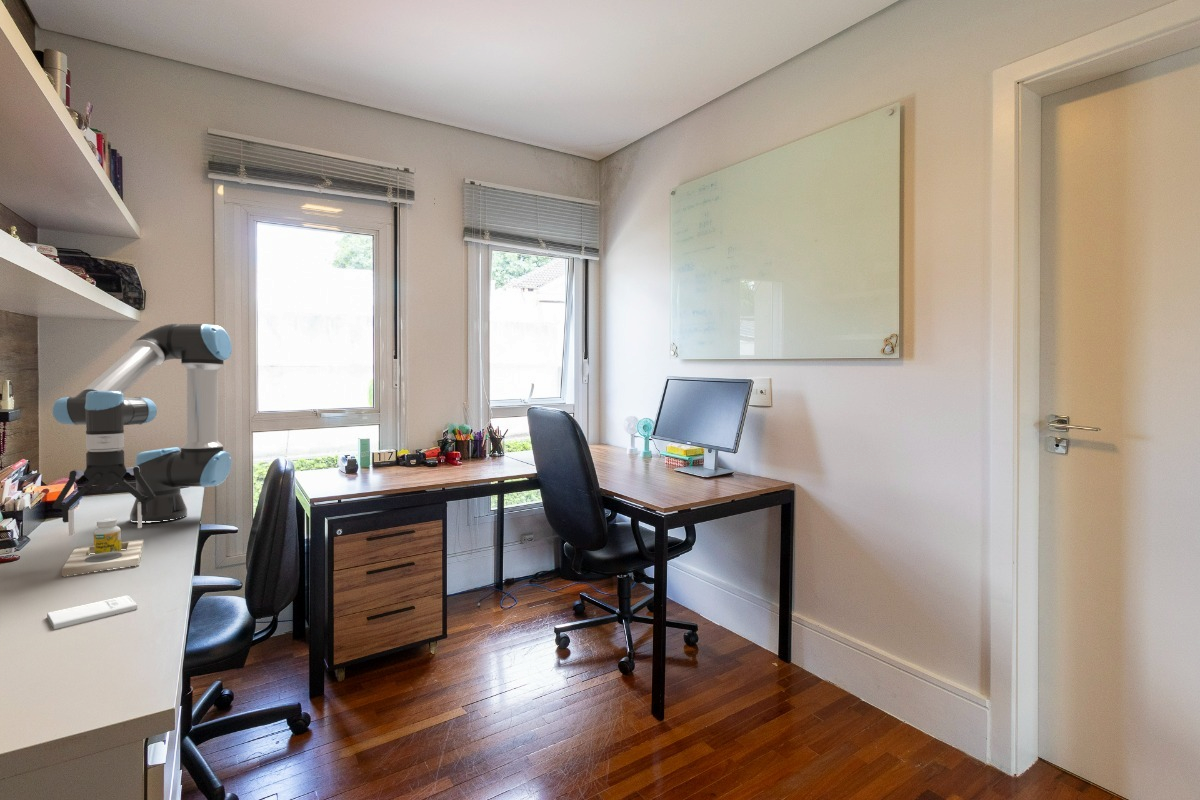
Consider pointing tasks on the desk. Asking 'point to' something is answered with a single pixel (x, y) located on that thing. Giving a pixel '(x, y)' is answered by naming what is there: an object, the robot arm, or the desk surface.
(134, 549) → the puzzle board
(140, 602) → the desk surface
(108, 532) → the supplement bottle
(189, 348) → the robot arm
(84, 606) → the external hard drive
